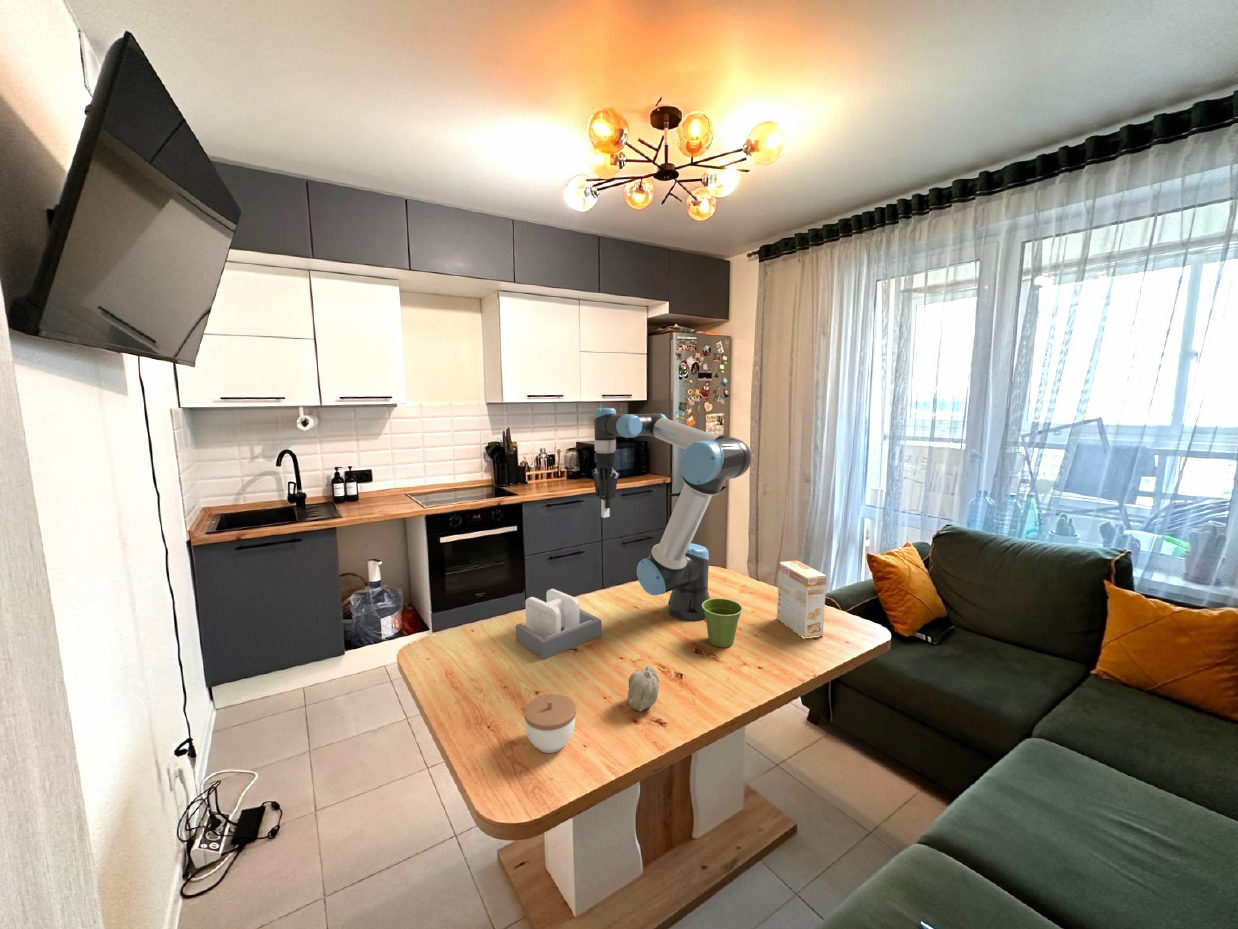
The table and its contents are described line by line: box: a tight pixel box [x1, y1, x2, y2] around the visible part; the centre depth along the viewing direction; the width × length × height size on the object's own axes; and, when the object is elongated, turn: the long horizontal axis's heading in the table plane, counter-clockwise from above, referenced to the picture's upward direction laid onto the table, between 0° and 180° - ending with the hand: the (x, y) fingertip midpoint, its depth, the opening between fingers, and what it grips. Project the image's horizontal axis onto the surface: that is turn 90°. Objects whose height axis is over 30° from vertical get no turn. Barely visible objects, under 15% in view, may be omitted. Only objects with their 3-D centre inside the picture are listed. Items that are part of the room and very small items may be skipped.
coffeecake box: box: [776, 560, 827, 638], centre depth 154 cm, size 15×7×20 cm, turn 14°
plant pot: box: [702, 597, 744, 648], centre depth 146 cm, size 12×12×11 cm
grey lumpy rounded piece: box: [627, 665, 660, 712], centre depth 116 cm, size 9×8×10 cm
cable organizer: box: [525, 588, 580, 639], centre depth 151 cm, size 15×11×12 cm
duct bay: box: [515, 608, 603, 660], centre depth 149 cm, size 14×21×5 cm
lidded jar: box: [523, 693, 577, 754], centre depth 103 cm, size 11×11×9 cm
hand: (605, 516), depth 178 cm, fingers closed
